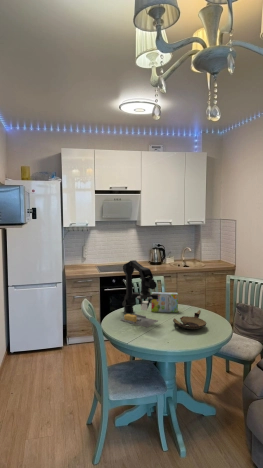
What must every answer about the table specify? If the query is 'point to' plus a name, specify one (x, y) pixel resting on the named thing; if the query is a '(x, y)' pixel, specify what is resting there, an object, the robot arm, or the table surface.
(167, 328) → the table surface
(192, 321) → the oil lamp
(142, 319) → the organiser
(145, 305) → the grey plug
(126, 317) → the amber plug
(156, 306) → the snack box
